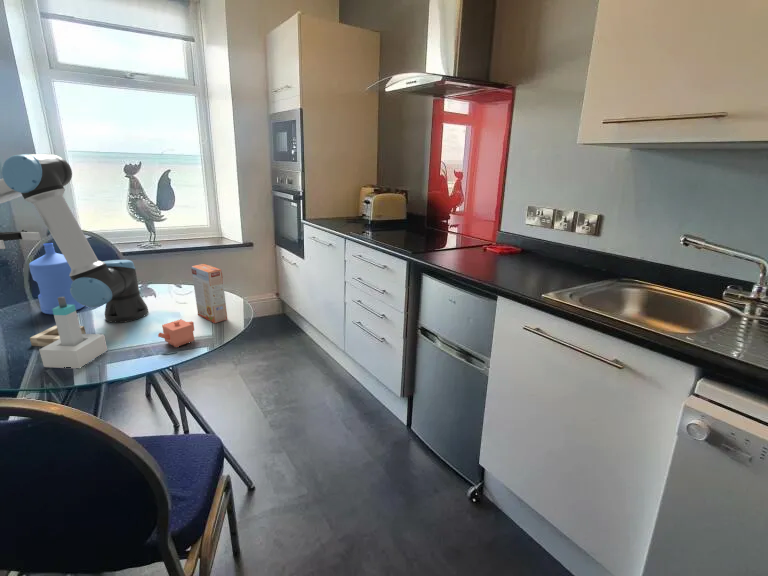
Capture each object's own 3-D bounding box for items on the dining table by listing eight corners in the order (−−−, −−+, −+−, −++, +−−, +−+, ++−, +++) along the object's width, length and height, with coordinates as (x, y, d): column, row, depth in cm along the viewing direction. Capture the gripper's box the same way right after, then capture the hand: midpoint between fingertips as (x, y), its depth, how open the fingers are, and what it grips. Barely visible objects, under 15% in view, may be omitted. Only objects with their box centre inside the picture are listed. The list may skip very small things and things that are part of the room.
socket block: (74, 349, 142) (70, 333, 140) (107, 350, 141) (103, 334, 139) (44, 367, 131) (39, 349, 129) (80, 368, 130) (75, 351, 128)
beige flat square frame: (58, 332, 155) (56, 325, 154) (85, 333, 154) (84, 326, 153) (31, 345, 145) (29, 337, 144) (61, 347, 144) (59, 339, 143)
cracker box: (228, 319, 167) (222, 269, 160) (214, 324, 162) (207, 272, 156) (211, 311, 175) (204, 262, 169) (197, 315, 171) (190, 265, 165)
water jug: (95, 301, 186) (80, 239, 177) (69, 315, 171) (52, 248, 162) (60, 301, 186) (44, 239, 177) (31, 315, 171) (12, 248, 162)
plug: (73, 347, 137) (60, 295, 131) (85, 347, 137) (72, 295, 131) (63, 352, 133) (49, 299, 127) (75, 353, 133) (61, 300, 127)
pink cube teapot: (155, 346, 144) (151, 324, 142) (189, 335, 153) (186, 314, 150) (166, 353, 139) (162, 330, 137) (200, 341, 148) (197, 319, 146)
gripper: (2, 242, 157) (55, 243, 155) (-72, 258, 134) (-11, 260, 132) (-4, 222, 155) (50, 223, 153) (-80, 235, 131) (-18, 236, 130)
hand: (22, 240), depth 142 cm, fingers open, 13 cm apart
